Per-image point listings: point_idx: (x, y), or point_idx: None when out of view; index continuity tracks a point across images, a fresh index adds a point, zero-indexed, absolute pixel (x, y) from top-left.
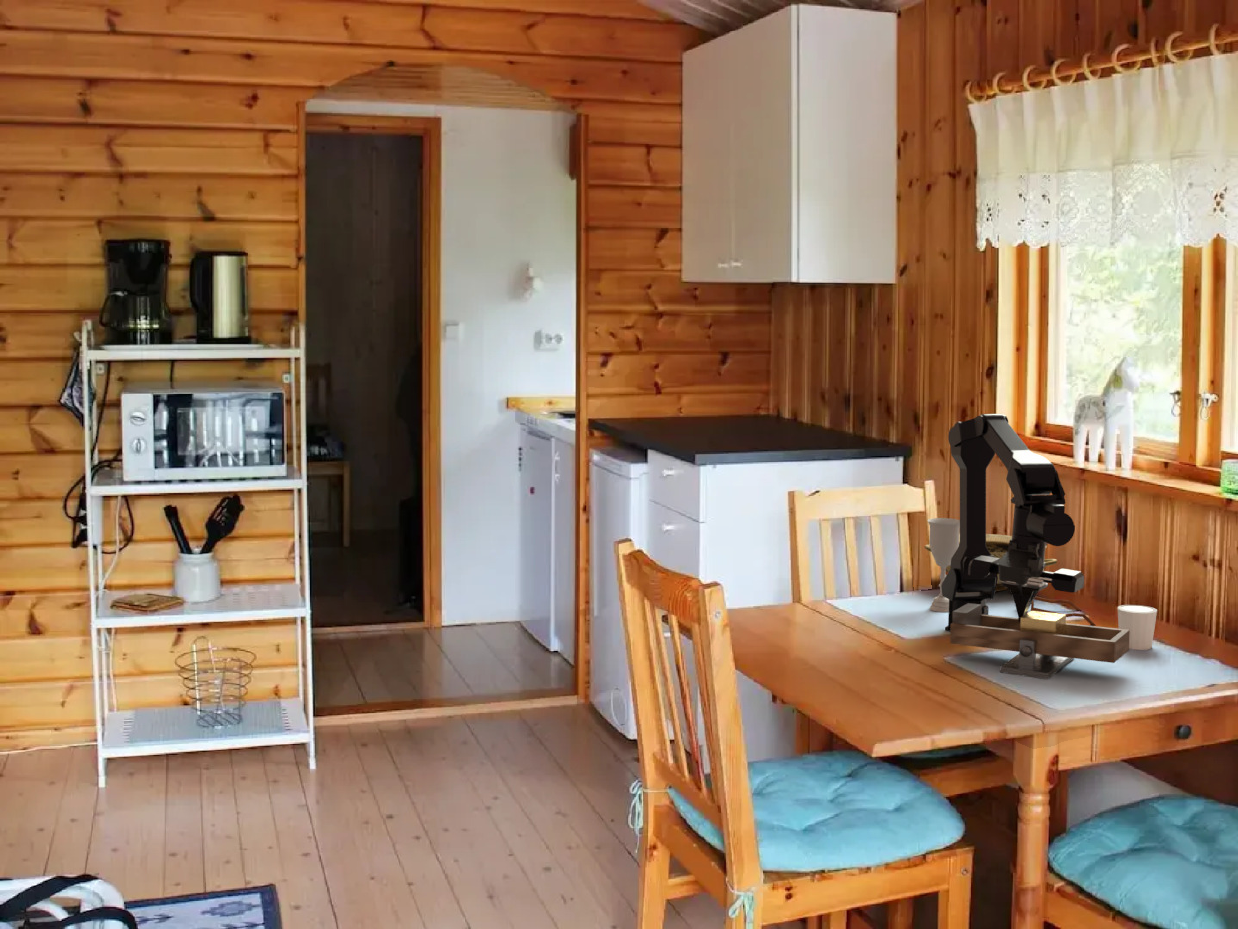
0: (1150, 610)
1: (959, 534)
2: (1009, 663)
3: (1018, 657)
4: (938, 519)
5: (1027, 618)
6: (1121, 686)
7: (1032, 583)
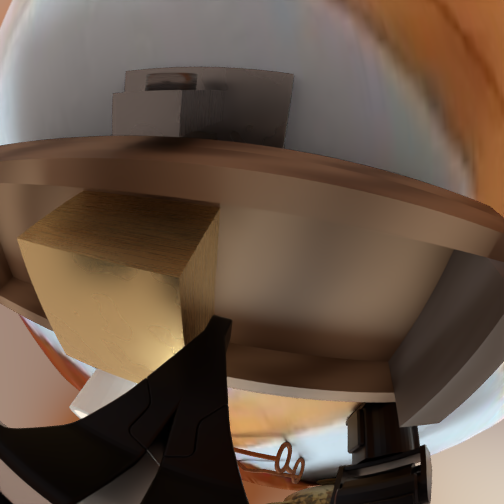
0: (79, 415)
1: None
2: (269, 130)
3: None
4: None
5: (133, 265)
6: (18, 128)
7: (34, 496)
